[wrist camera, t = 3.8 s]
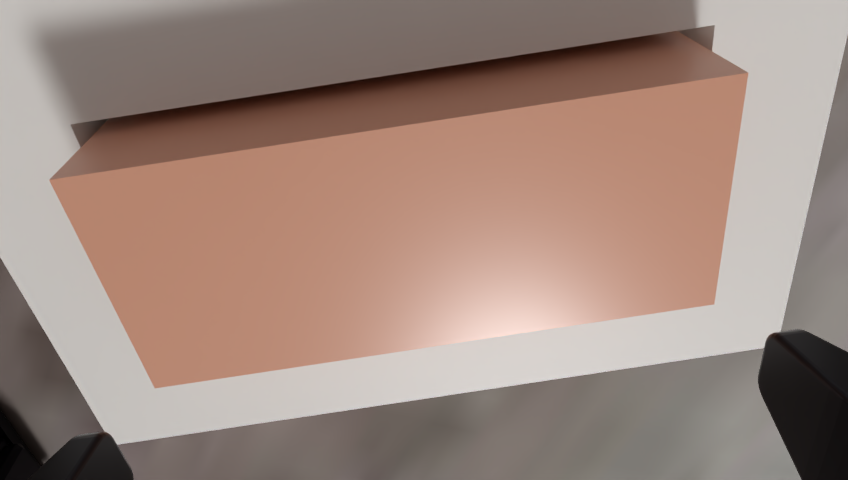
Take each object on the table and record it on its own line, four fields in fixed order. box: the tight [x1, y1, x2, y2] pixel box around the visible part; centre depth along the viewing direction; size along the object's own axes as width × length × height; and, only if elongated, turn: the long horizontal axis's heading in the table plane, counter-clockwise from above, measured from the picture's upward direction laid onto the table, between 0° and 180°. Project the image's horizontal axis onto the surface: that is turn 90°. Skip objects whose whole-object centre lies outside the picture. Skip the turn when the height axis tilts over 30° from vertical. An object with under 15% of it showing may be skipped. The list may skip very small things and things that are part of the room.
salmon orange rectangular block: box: [49, 31, 748, 388], centre depth 14 cm, size 12×5×4 cm, turn 97°
